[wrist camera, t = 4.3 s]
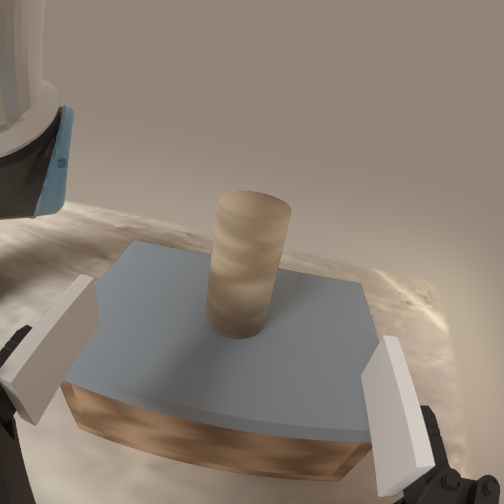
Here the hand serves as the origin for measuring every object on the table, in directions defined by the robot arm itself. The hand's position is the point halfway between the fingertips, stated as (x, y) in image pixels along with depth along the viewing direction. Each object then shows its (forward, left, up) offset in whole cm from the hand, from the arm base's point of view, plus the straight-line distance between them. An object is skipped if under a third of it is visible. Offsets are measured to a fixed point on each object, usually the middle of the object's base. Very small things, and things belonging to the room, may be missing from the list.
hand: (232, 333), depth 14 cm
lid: (+3, +8, -7) cm, 11 cm away
